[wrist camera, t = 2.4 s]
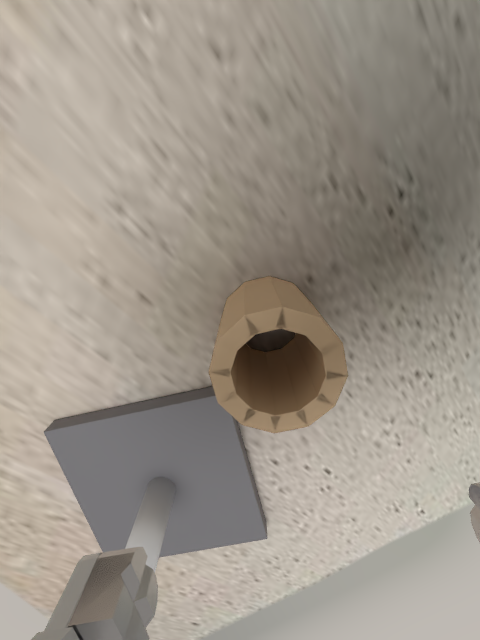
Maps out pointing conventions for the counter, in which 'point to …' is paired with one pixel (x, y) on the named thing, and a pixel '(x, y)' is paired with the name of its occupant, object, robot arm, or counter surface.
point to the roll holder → (161, 475)
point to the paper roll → (276, 359)
